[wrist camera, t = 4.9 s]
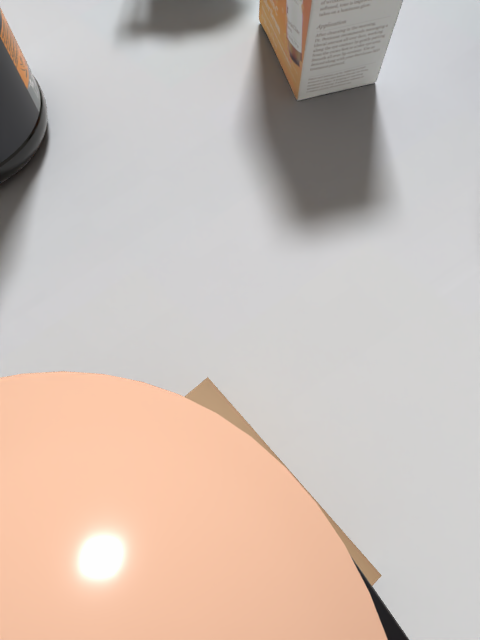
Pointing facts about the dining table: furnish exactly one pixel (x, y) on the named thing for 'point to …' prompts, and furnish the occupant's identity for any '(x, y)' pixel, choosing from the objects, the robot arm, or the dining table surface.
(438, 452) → the dining table surface
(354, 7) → the small box
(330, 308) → the dining table surface
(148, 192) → the dining table surface
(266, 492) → the peach domed cylinder
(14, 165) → the supplement container
